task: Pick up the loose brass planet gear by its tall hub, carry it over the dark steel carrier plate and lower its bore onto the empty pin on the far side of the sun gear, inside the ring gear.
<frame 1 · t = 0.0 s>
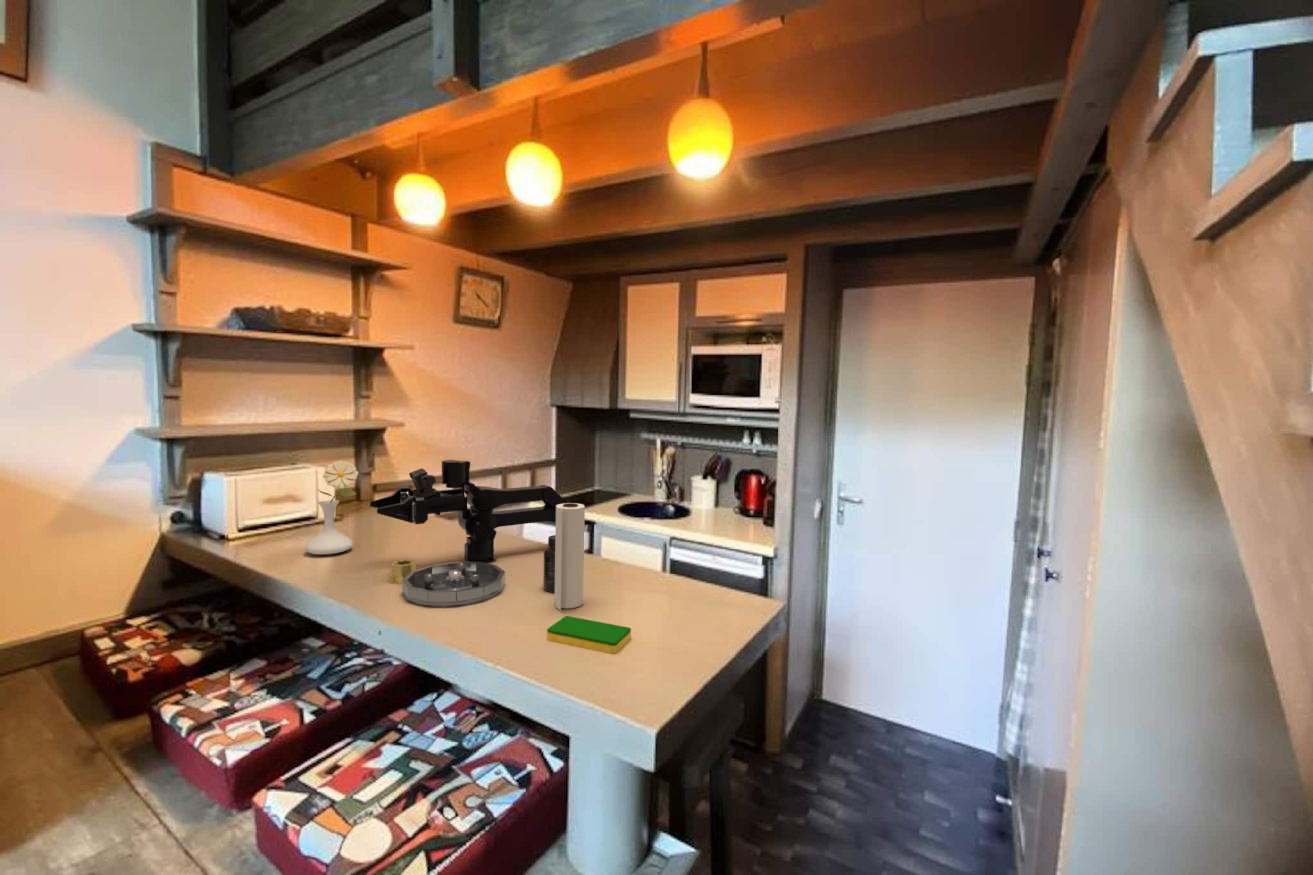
hand: (373, 507, 132), 17 cm above the table, tool horizontal, fingers open, 9 cm apart
supplement bottle: (558, 589, 128), on the table
planet gear: (403, 579, 131), on the table
dish sponge: (589, 642, 103), on the table
flower in vase: (333, 552, 151), on the table
carrier: (455, 589, 126), on the table
paper towel roll: (566, 605, 119), on the table
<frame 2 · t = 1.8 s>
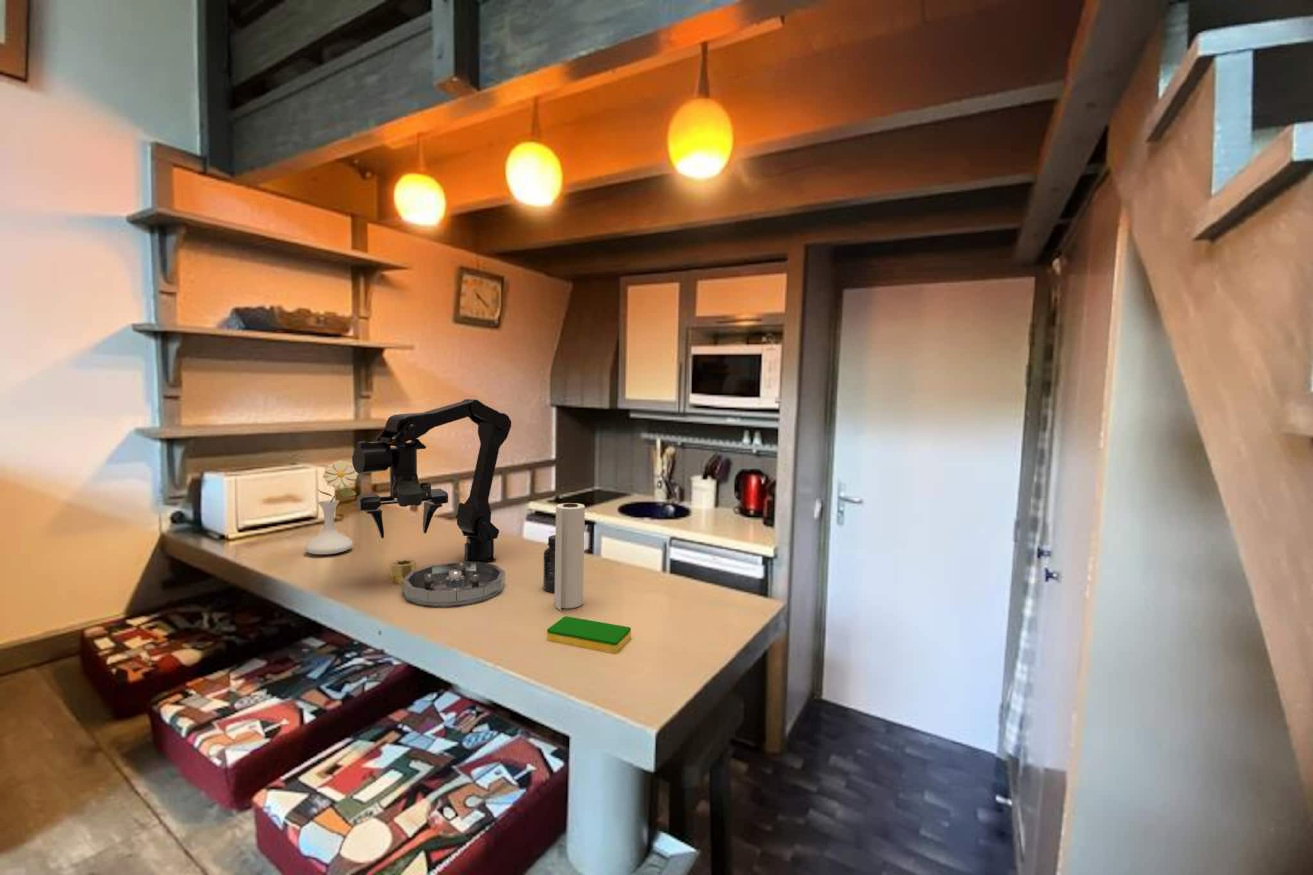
hand: (404, 535, 131), 10 cm above the table, tool pointing down, fingers open, 9 cm apart
nothing on the table moved.
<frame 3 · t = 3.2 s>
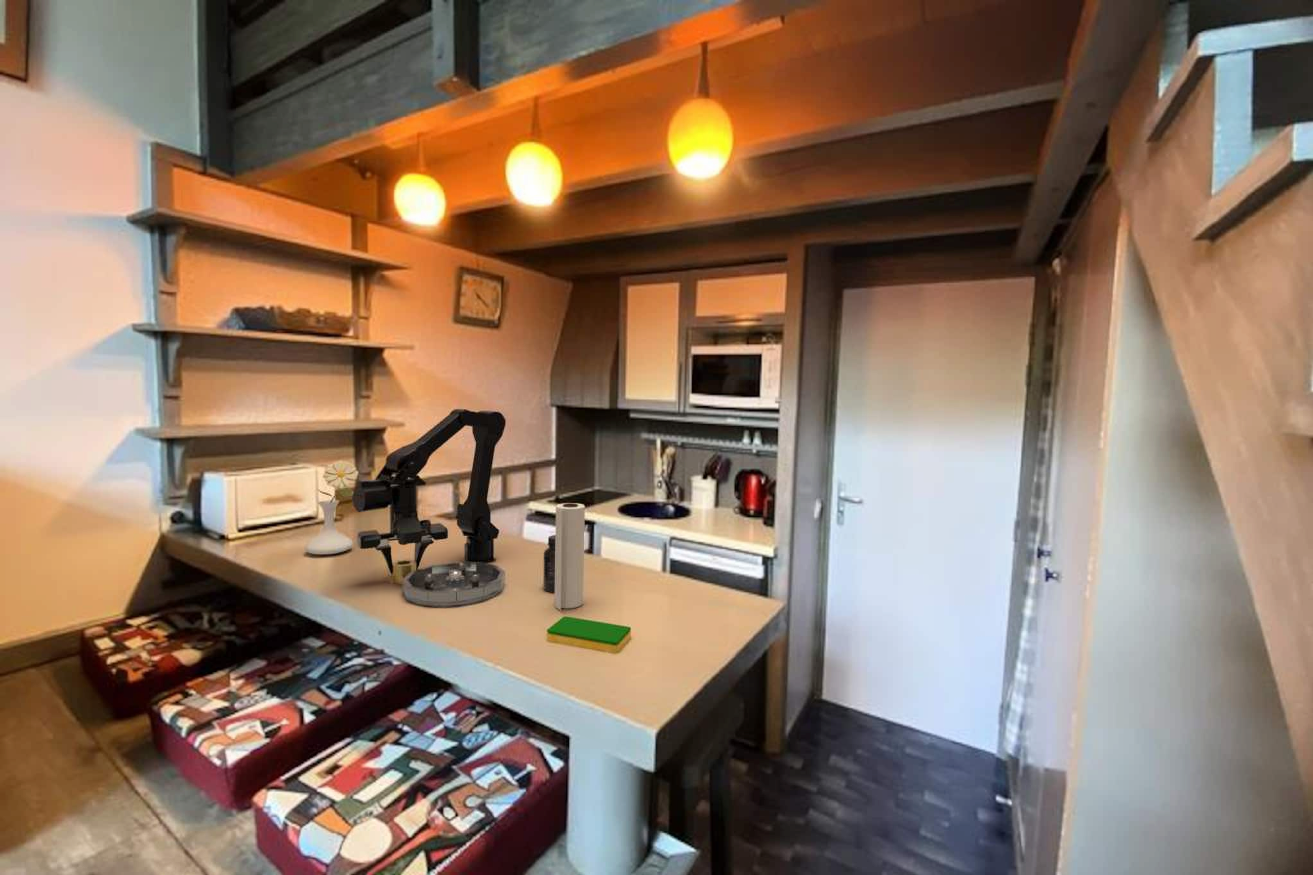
hand: (403, 571, 131), 2 cm above the table, tool pointing down, fingers closed on planet gear, 5 cm apart
planet gear: (403, 579, 131), on the table, touching gripper
everything else where it was.
when the fingers open (5 cm above the table, at t = 6.6 s): planet gear drops 2 cm, resting on carrier.
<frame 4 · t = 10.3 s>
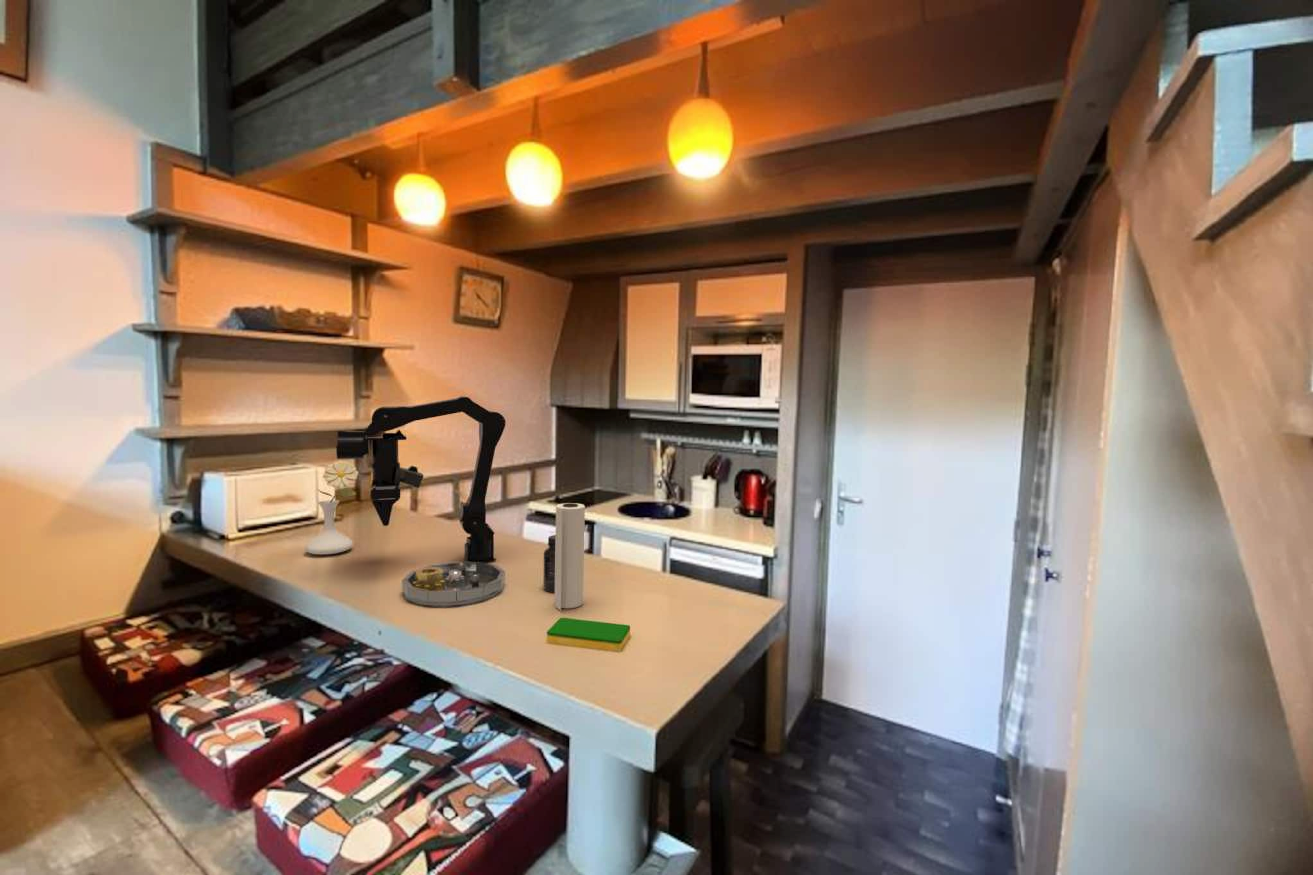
hand: (385, 521, 137), 12 cm above the table, tool pointing down, fingers open, 9 cm apart
planet gear: (429, 588, 122), point 1 cm above the table, touching carrier
everything else where it was.
at the end: planet gear 0.0 cm from the target spot on the carrier, point 1.2 cm above the carrier's base; the gripper is holding nothing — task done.
